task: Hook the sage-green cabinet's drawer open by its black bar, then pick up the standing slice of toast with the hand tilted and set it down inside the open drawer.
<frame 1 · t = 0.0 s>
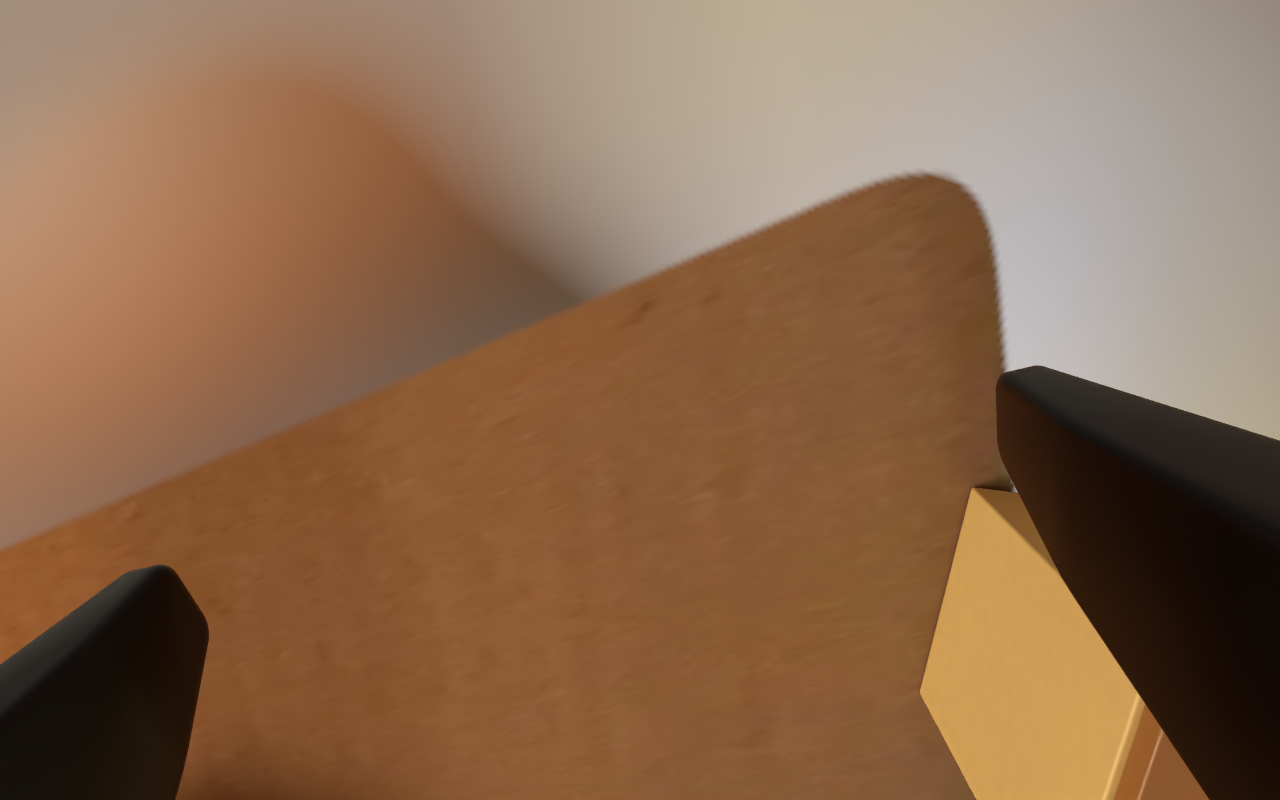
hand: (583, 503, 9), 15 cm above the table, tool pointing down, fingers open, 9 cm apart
toast: (983, 597, 27), on the table
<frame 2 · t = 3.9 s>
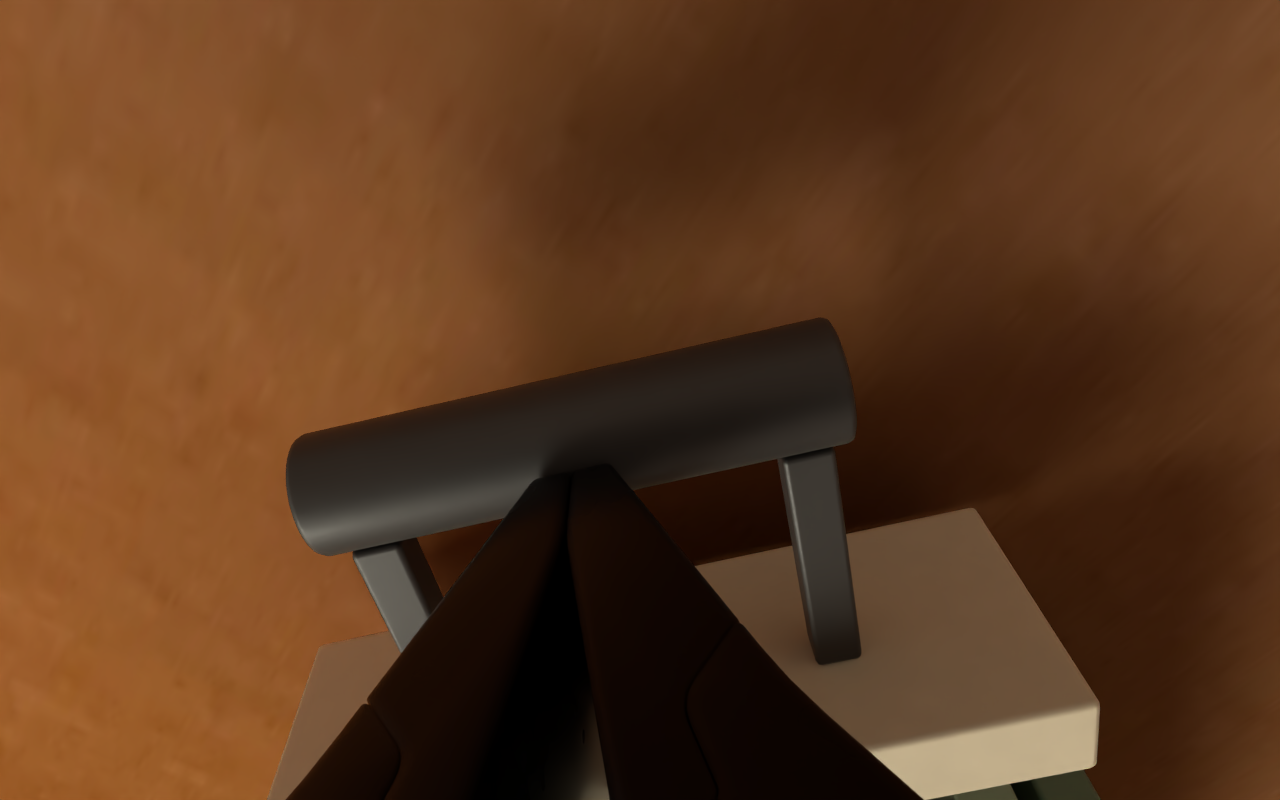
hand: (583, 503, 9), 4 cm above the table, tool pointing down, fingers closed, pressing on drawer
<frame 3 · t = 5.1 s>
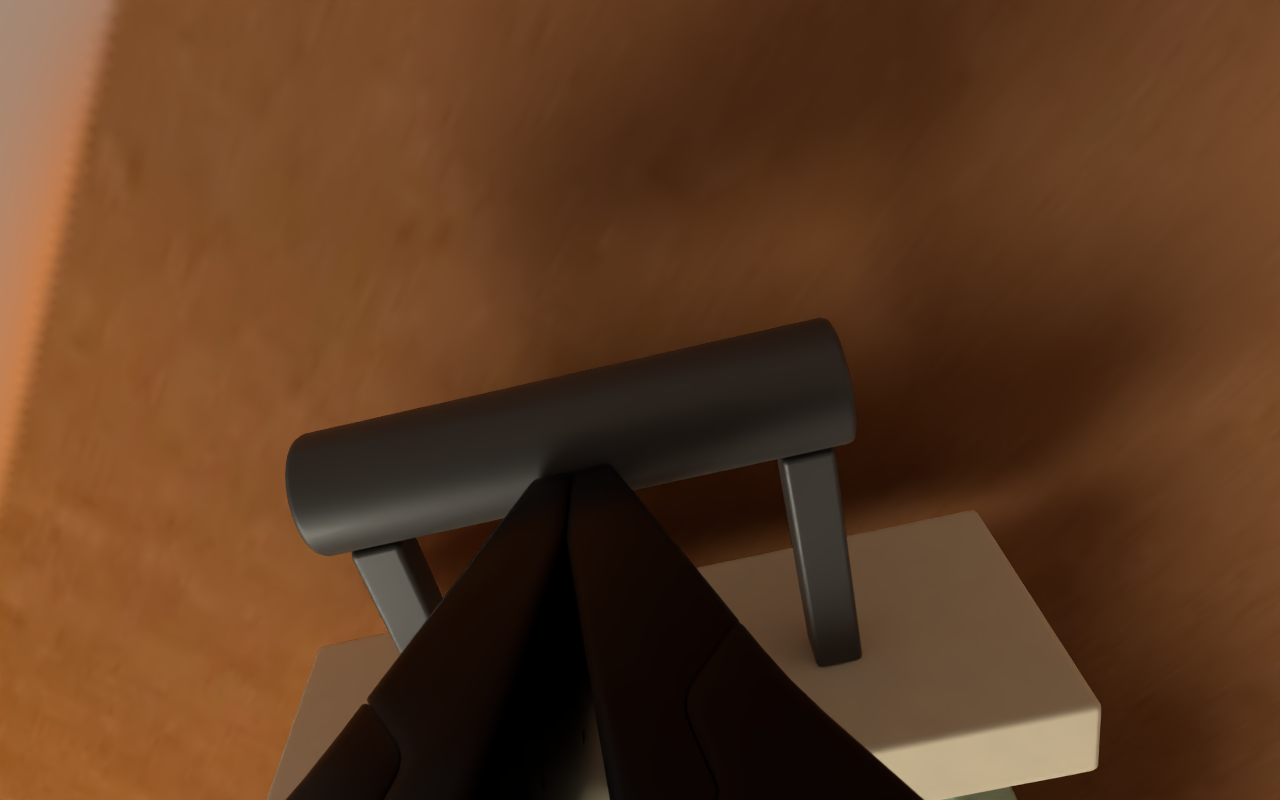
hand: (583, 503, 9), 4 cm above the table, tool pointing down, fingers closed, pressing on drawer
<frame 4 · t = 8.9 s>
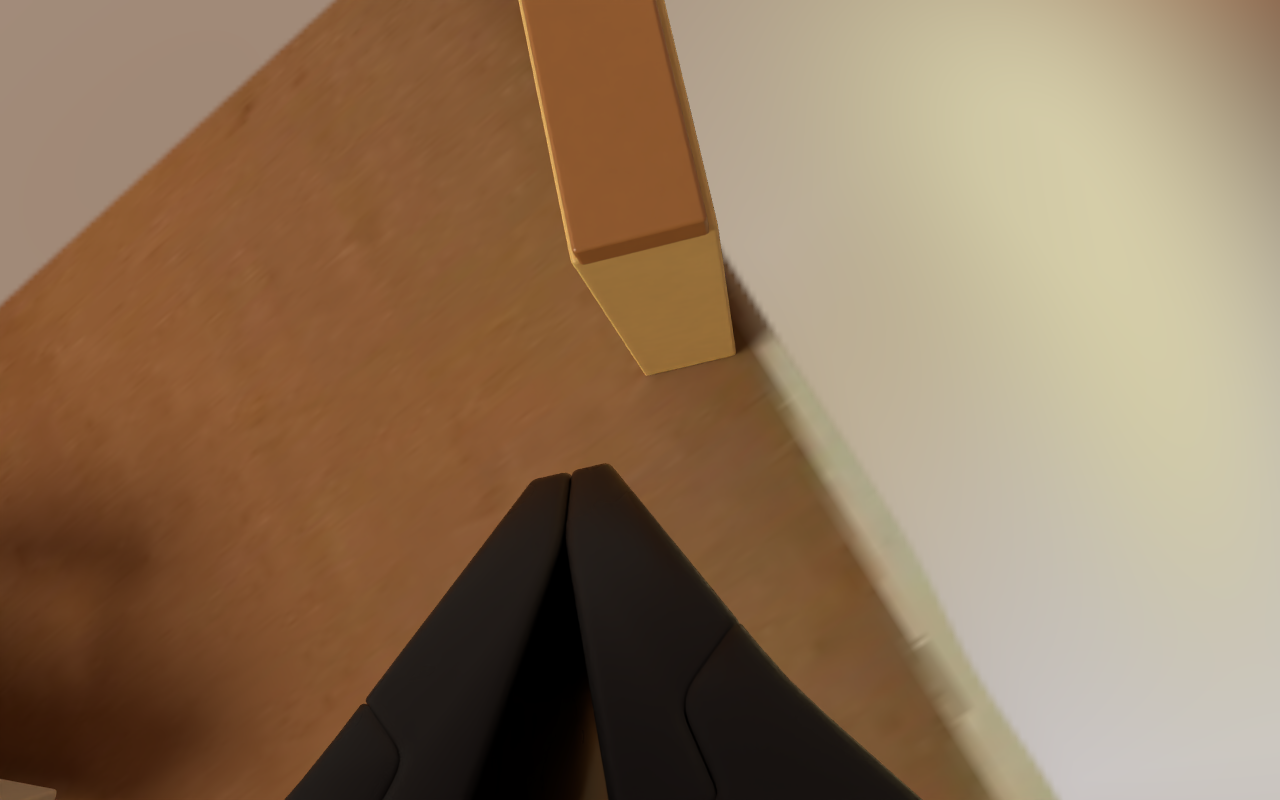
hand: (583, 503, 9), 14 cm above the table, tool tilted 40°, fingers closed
toast: (663, 244, 24), on the table
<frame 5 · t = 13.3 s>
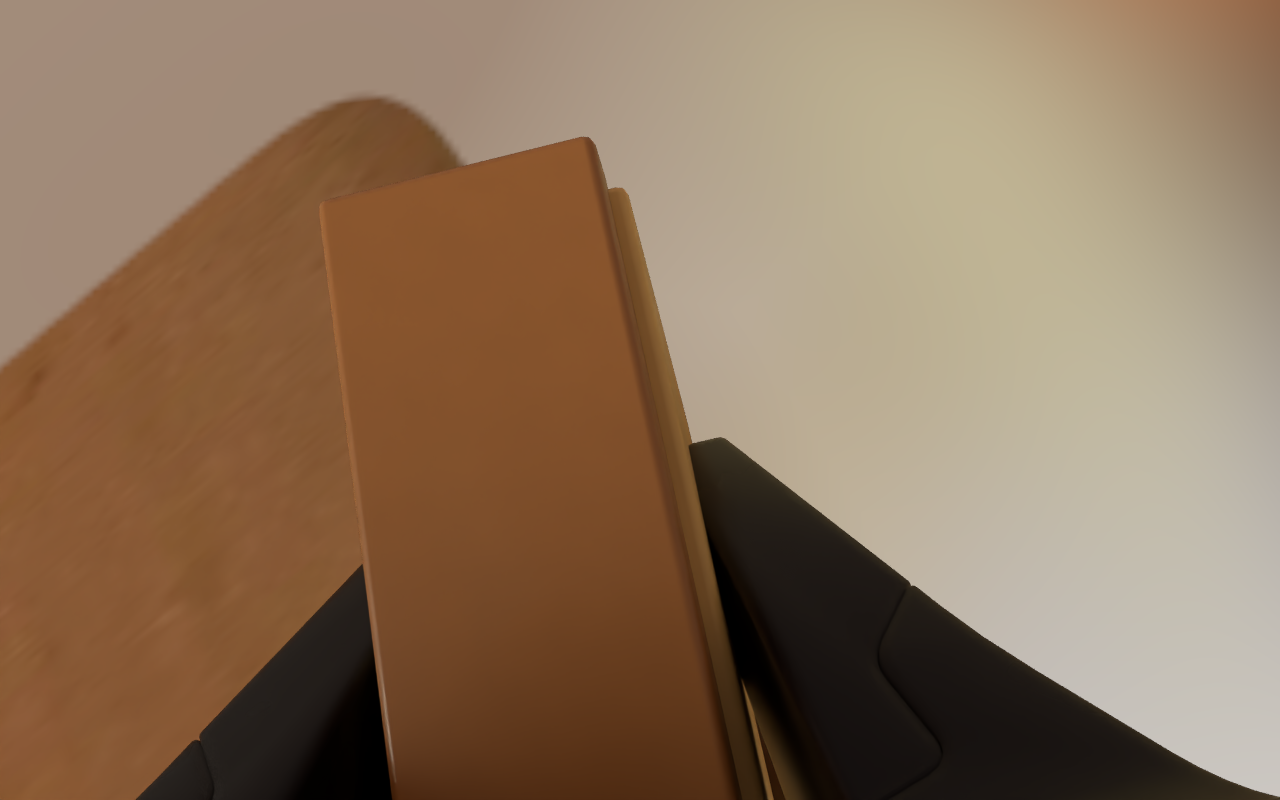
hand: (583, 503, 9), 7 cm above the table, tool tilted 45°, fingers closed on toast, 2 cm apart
toast: (661, 631, 15), on the table, touching gripper
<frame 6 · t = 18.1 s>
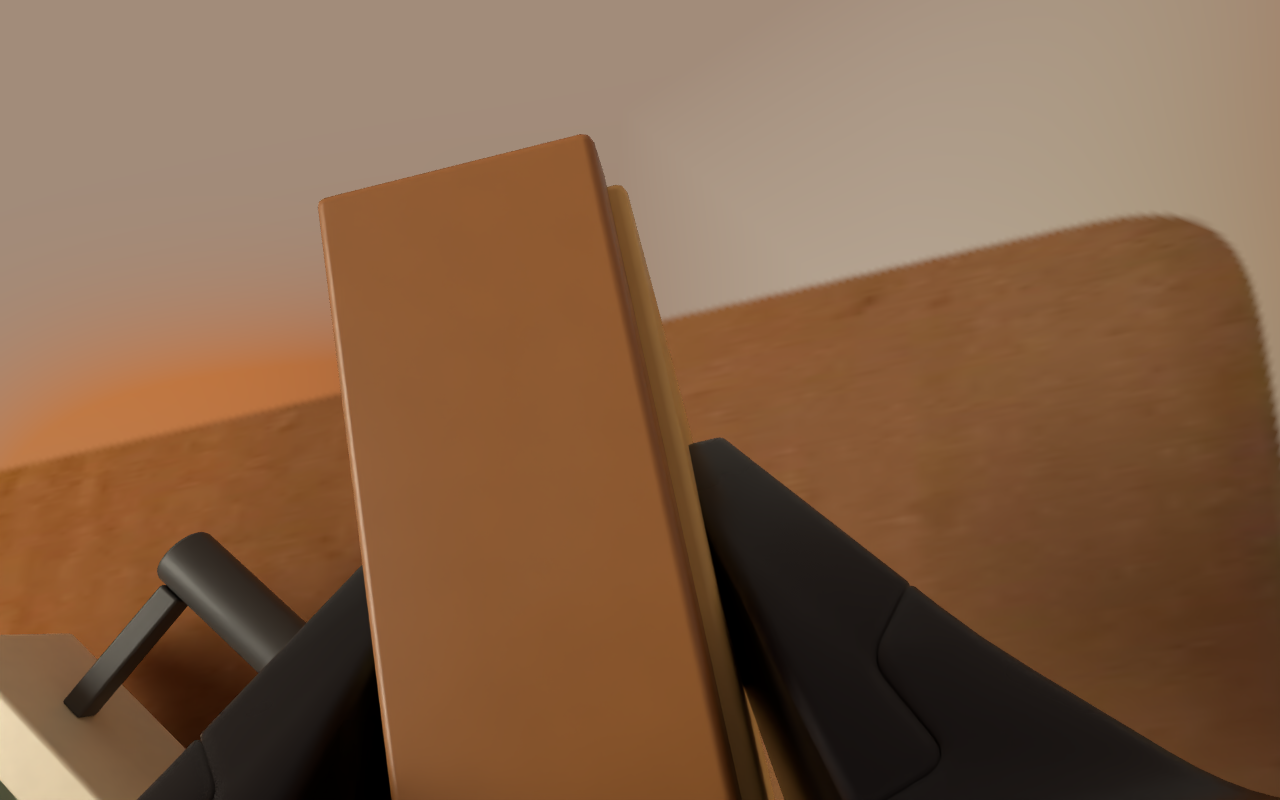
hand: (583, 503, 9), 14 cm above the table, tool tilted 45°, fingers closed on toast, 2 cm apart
toast: (662, 629, 15), point 7 cm above the table, touching gripper
when the fingers open (9 cm above the table, at t = 22.8 s): toast stays where it is, resting on drawer.
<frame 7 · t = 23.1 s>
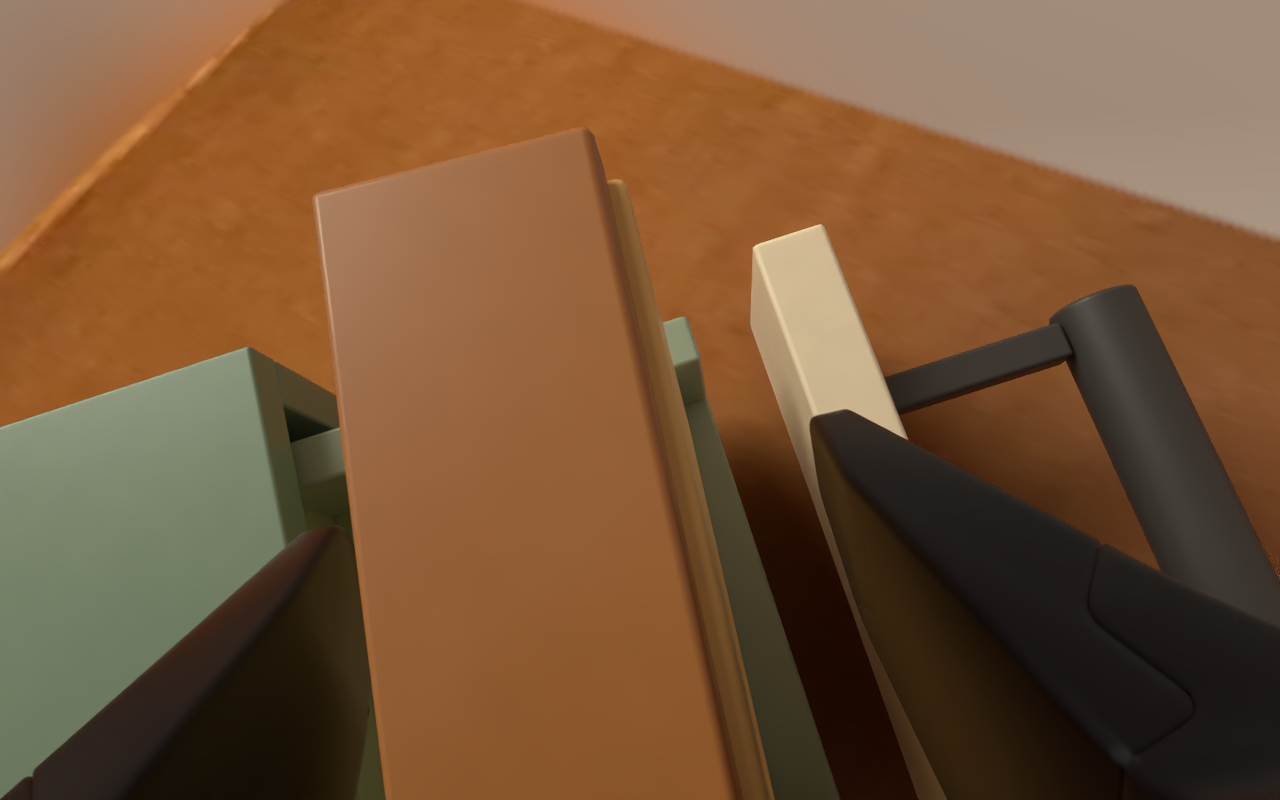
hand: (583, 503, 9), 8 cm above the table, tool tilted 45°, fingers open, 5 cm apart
cabinet: (174, 785, 18), on the table
toast: (661, 631, 15), point 2 cm above the table, touching drawer
drawer: (751, 603, 15), point 3 cm above the table, slide at 7.8 cm, touching toast
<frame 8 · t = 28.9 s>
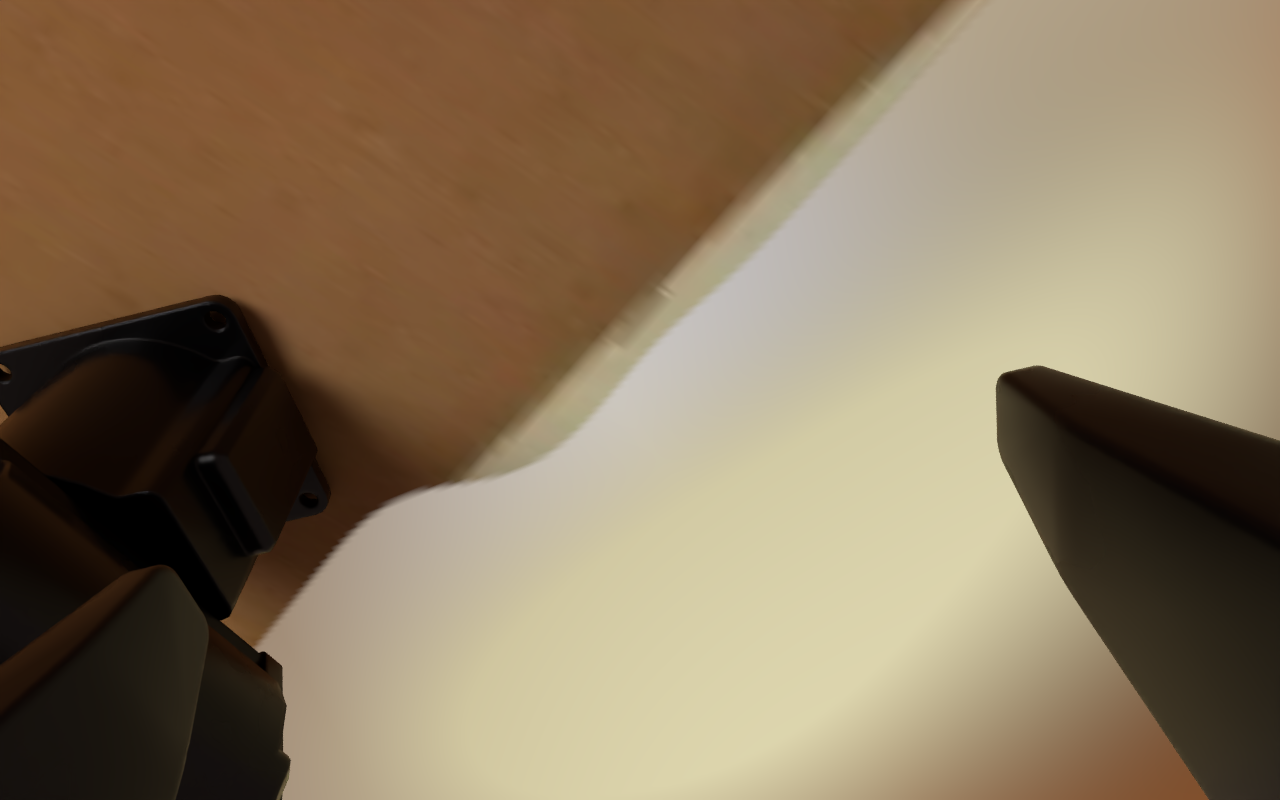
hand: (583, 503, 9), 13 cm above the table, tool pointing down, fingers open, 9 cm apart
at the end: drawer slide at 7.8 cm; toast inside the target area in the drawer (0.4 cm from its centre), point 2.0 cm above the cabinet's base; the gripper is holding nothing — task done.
